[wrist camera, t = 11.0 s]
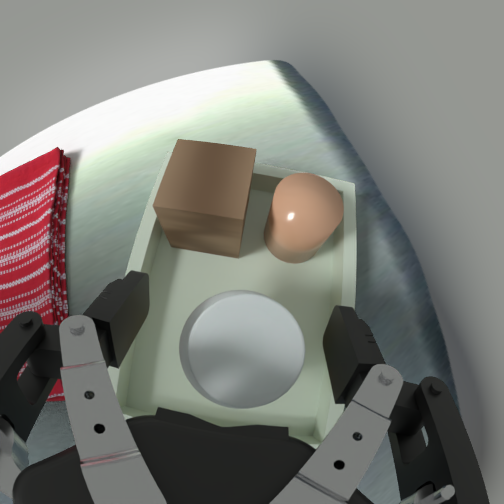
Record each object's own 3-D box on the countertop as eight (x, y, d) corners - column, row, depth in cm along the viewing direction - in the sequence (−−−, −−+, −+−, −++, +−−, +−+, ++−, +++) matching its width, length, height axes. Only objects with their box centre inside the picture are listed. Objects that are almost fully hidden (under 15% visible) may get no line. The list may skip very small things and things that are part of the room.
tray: (115, 412, 16) (99, 419, 13) (172, 173, 23) (167, 151, 21) (320, 445, 16) (334, 457, 14) (341, 202, 24) (354, 183, 21)
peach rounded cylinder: (259, 258, 20) (270, 228, 16) (267, 206, 22) (277, 166, 17) (318, 267, 21) (344, 240, 16) (321, 215, 22) (342, 180, 17)
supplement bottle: (180, 330, 18) (140, 311, 9) (251, 296, 19) (278, 246, 10) (217, 401, 17) (213, 450, 8) (288, 365, 18) (349, 376, 9)
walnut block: (171, 247, 20) (152, 205, 15) (187, 190, 22) (177, 139, 16) (238, 258, 20) (243, 219, 15) (249, 199, 22) (256, 149, 17)
